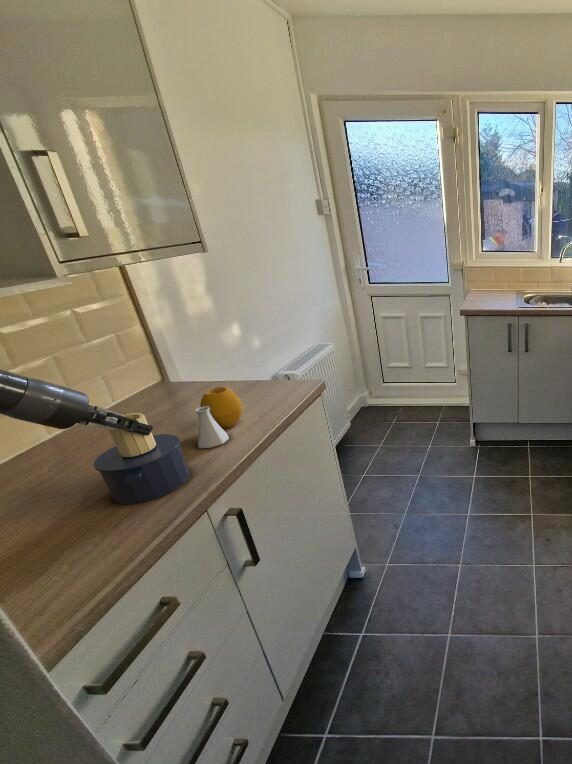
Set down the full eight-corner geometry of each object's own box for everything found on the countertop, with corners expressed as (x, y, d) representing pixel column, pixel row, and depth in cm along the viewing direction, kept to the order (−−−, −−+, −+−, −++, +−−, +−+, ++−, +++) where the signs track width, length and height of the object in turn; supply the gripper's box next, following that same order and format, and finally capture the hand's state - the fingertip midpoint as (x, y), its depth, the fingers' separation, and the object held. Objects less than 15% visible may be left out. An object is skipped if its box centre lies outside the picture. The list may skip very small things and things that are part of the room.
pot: (102, 520, 84) (85, 485, 80) (123, 473, 99) (109, 442, 95) (185, 497, 90) (172, 464, 87) (193, 456, 105) (181, 426, 102)
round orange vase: (215, 419, 123) (202, 383, 118) (251, 415, 125) (240, 379, 121) (201, 435, 114) (188, 397, 110) (241, 430, 117) (229, 393, 112)
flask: (194, 451, 107) (181, 417, 103) (201, 438, 113) (189, 405, 109) (226, 445, 109) (215, 412, 106) (232, 432, 116) (221, 400, 112)
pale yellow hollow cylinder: (117, 460, 87) (103, 429, 84) (123, 447, 92) (110, 417, 89) (153, 451, 90) (140, 421, 87) (157, 439, 94) (145, 410, 92)
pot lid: (86, 483, 82) (72, 457, 80) (105, 449, 93) (93, 426, 91) (177, 460, 89) (167, 436, 86) (184, 432, 100) (175, 409, 98)
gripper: (80, 388, 75) (170, 417, 90) (32, 380, 79) (126, 408, 94) (56, 428, 72) (153, 450, 87) (8, 417, 76) (109, 440, 91)
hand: (139, 428), depth 90 cm, fingers closed on pale yellow hollow cylinder, 6 cm apart
